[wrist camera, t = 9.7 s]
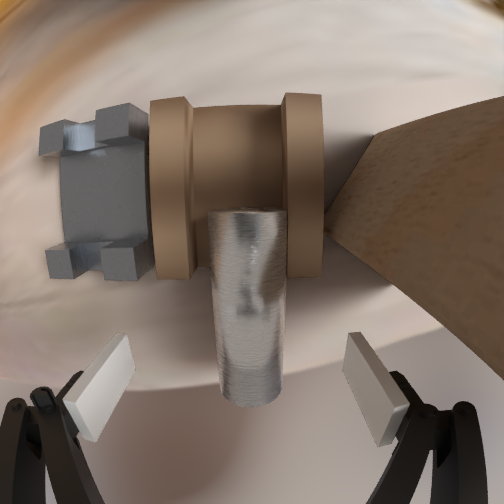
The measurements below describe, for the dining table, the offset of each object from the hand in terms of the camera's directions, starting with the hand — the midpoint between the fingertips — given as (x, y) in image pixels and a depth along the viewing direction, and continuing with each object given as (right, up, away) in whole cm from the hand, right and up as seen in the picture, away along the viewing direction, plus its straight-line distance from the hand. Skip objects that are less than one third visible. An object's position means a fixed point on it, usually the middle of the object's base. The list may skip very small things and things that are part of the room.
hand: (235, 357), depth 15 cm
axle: (0, +2, +6) cm, 7 cm away
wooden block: (+13, +10, +7) cm, 18 cm away
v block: (-12, +11, +6) cm, 18 cm away
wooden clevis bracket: (0, +7, +7) cm, 10 cm away
